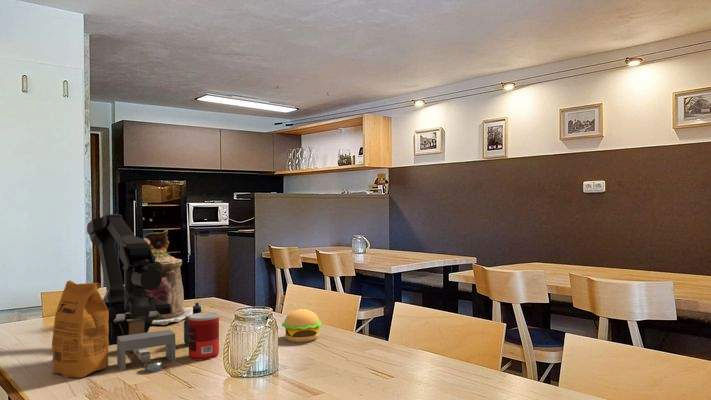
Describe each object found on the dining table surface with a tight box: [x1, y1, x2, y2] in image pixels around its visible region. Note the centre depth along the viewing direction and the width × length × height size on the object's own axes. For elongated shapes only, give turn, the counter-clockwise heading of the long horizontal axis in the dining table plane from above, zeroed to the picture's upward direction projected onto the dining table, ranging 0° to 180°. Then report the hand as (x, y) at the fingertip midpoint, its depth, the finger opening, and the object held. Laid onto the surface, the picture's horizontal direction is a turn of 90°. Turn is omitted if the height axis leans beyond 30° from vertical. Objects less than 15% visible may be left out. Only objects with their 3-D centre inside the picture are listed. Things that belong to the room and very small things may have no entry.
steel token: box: [143, 359, 163, 374], centre depth 126 cm, size 4×4×2 cm
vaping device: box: [183, 302, 202, 346], centre depth 149 cm, size 3×5×12 cm, turn 79°
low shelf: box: [116, 328, 176, 371], centre depth 132 cm, size 6×13×7 cm, turn 124°
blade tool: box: [127, 319, 151, 363], centre depth 139 cm, size 16×4×8 cm, turn 34°
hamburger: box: [281, 308, 322, 343], centre depth 155 cm, size 12×12×9 cm
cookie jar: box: [129, 229, 202, 326], centre depth 186 cm, size 25×25×32 cm
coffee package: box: [51, 280, 110, 378], centre depth 125 cm, size 10×12×22 cm
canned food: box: [188, 311, 220, 361], centre depth 137 cm, size 8×8×11 cm
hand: (135, 341), depth 144 cm, fingers closed on blade tool, 4 cm apart
